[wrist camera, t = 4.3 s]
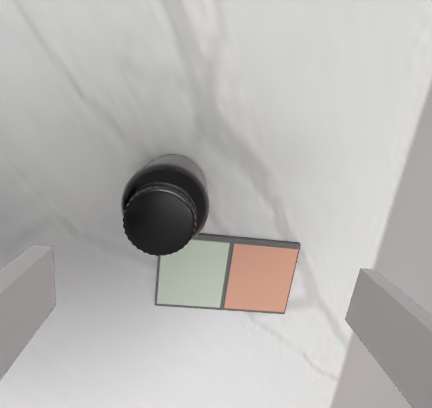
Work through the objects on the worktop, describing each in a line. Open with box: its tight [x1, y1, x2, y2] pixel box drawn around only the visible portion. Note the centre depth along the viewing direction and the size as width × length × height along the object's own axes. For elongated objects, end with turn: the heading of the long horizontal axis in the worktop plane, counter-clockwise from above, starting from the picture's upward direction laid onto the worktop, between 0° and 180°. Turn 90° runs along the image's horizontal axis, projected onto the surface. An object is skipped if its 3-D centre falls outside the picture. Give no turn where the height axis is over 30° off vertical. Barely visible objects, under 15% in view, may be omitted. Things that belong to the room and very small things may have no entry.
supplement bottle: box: [121, 154, 209, 256], centre depth 24 cm, size 7×7×12 cm
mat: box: [155, 233, 301, 314], centre depth 32 cm, size 16×10×1 cm, turn 83°
